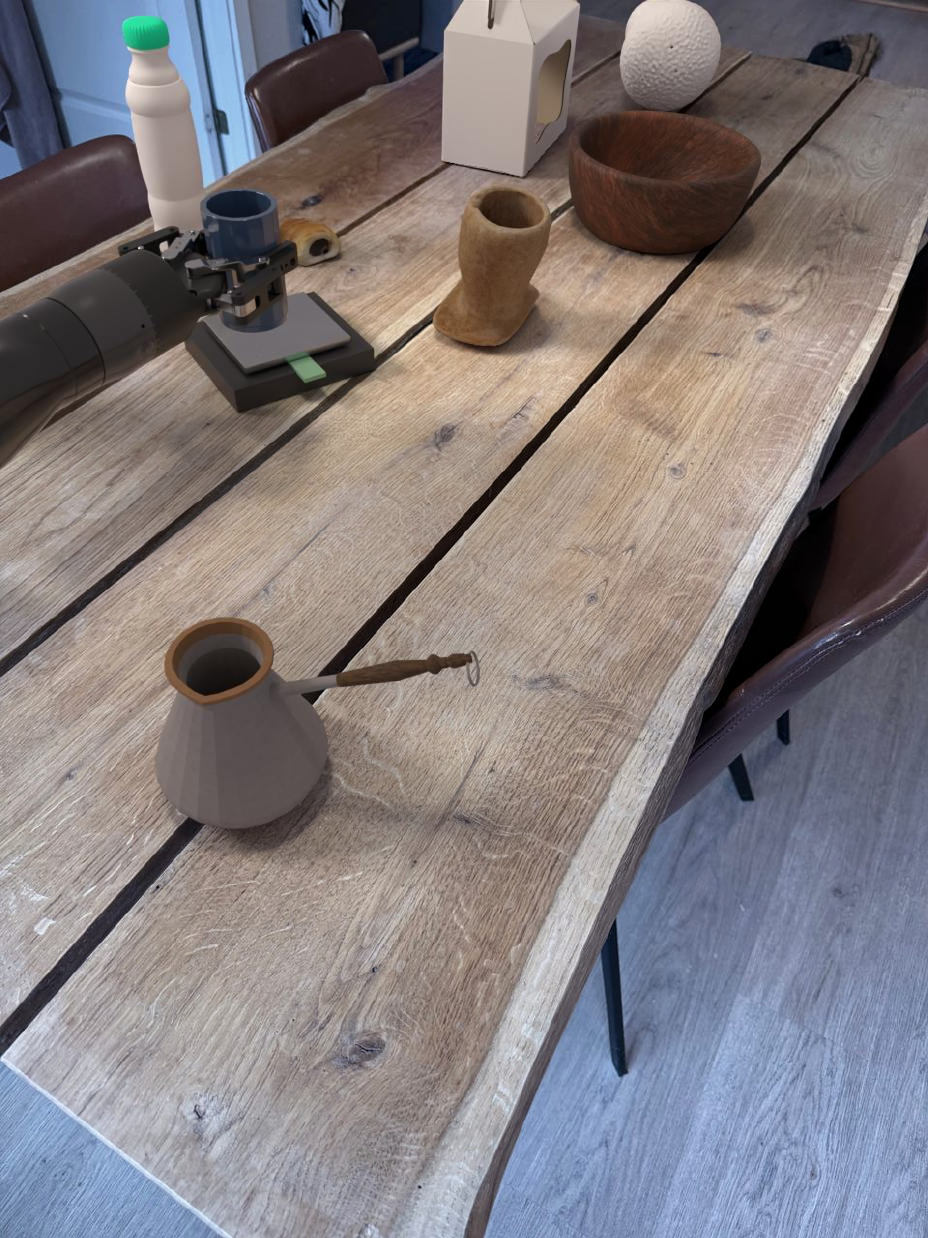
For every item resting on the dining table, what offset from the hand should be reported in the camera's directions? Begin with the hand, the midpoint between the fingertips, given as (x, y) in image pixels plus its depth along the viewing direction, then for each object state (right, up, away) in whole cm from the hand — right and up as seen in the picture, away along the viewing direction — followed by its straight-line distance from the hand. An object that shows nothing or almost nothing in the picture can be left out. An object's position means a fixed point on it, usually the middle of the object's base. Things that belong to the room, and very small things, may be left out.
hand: (263, 240), depth 79 cm
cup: (-1, -5, +3) cm, 6 cm away
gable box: (+24, +41, +63) cm, 79 cm away
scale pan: (-2, -3, +18) cm, 18 cm away
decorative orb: (+51, +55, +77) cm, 108 cm away
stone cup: (+21, +2, +27) cm, 34 cm away
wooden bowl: (+43, +22, +47) cm, 67 cm away
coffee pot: (+7, -44, -16) cm, 48 cm away
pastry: (-2, +14, +37) cm, 40 cm away
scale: (-3, -5, +20) cm, 21 cm away
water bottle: (-18, +14, +36) cm, 43 cm away
